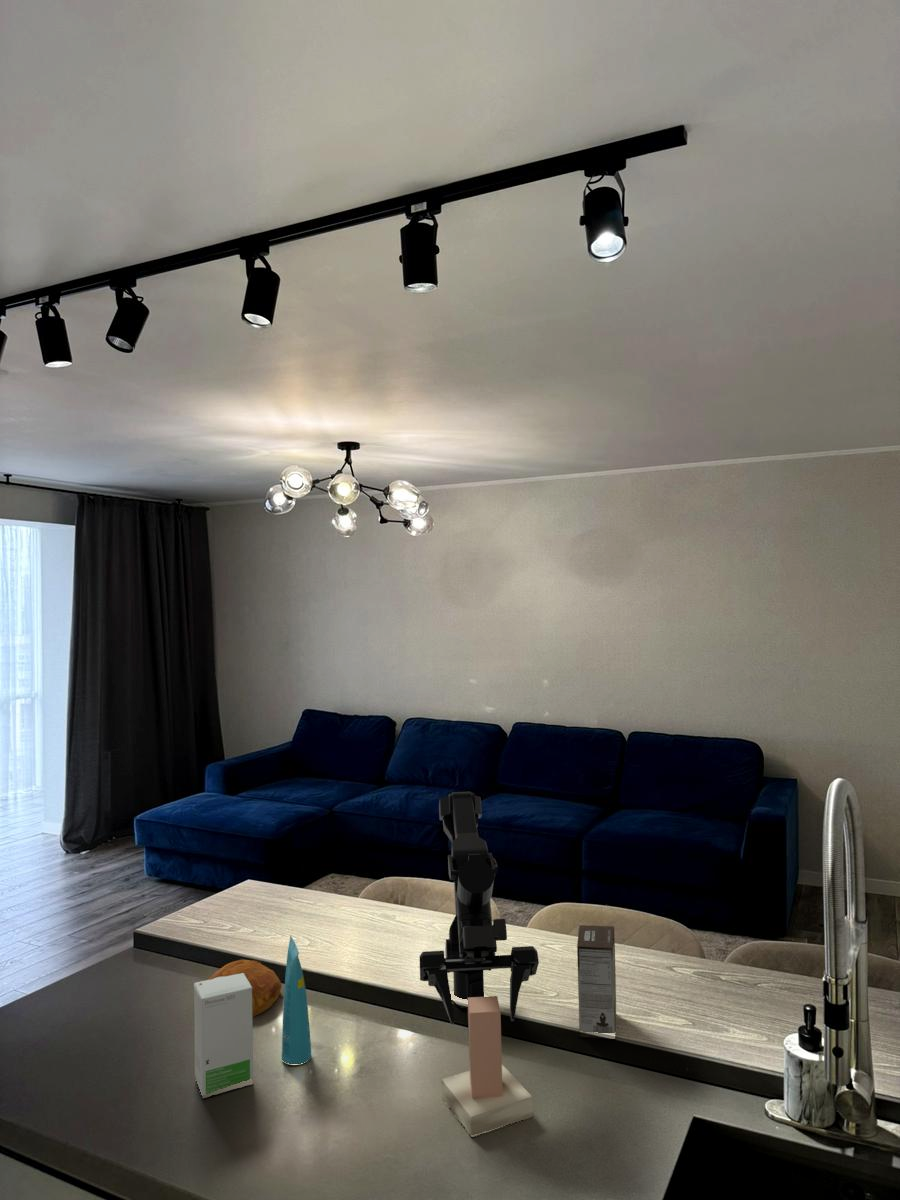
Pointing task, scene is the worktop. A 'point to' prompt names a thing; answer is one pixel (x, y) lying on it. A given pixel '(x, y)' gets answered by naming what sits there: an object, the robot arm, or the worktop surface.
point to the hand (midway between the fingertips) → (482, 1021)
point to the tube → (295, 1012)
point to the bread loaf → (255, 982)
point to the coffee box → (596, 979)
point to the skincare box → (223, 1032)
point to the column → (485, 1047)
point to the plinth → (486, 1103)
